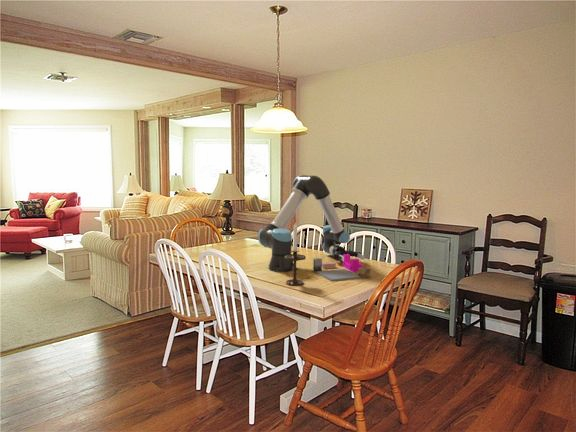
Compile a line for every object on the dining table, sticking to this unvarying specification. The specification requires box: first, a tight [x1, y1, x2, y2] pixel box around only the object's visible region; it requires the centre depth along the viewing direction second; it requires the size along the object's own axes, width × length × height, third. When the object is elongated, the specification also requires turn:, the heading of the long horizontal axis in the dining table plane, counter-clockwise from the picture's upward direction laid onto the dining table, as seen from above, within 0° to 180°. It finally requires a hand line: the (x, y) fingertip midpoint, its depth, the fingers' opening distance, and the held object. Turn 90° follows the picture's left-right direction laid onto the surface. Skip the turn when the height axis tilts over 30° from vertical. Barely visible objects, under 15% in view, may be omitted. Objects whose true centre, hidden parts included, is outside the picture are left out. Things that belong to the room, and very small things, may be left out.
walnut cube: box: [357, 266, 372, 279], centre depth 231 cm, size 5×5×5 cm
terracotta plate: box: [322, 261, 337, 269], centre depth 253 cm, size 8×5×3 cm, turn 105°
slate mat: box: [316, 268, 362, 282], centre depth 234 cm, size 18×18×1 cm
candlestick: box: [285, 217, 306, 287], centre depth 215 cm, size 11×11×35 cm
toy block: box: [342, 254, 364, 273], centre depth 250 cm, size 15×6×8 cm, turn 15°
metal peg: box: [312, 257, 323, 273], centre depth 244 cm, size 5×5×7 cm
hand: (354, 258), depth 257 cm, fingers open, 13 cm apart
